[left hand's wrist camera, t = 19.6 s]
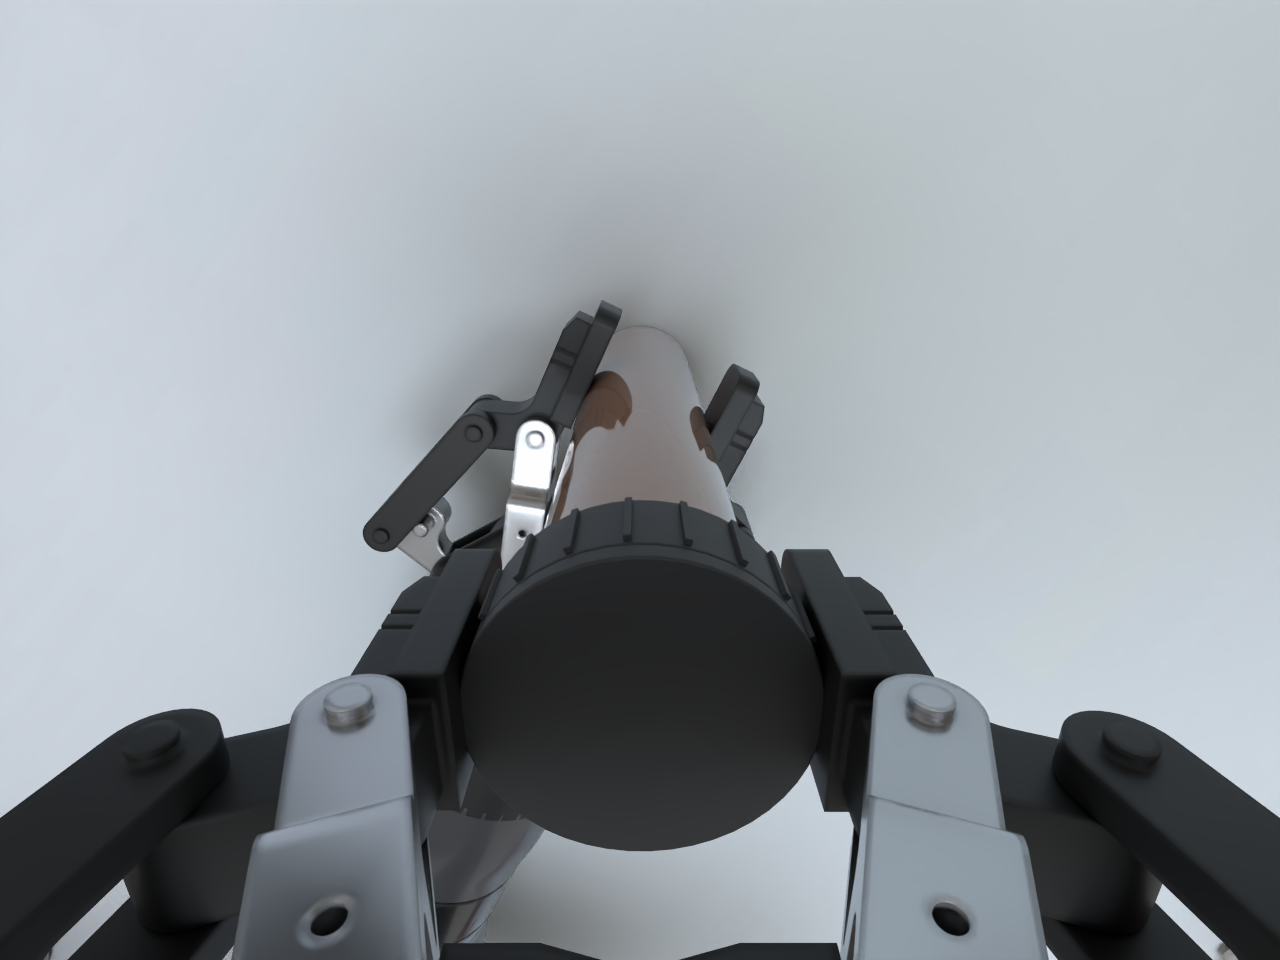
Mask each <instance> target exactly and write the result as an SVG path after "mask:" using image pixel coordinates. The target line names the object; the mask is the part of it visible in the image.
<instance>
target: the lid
mask: <svg viewBox="0 0 1280 960" xmlns="http://www.w3.org/2000/svg"><path fill="white" fill-rule="evenodd" d="M478 619H480V620H481V622H480V624H479V627H478V630H477V632H476V635H475V638H474V640H473V643H472V645H471V648H470V651H469V653H468V656H467V659H466V661H465V664H464V667H463V671H462V676H461V680H460V695H461V704H462V713H463V721H464V729H465V738H466V745H467V750H468V752H469V754H470V756H471V759H472V761H473V763H474V764H475V766H476V768H477V769H478V771H479V772H480V774H481V776H482V777H483V779H484V780H485V781H486V782H487V783H488V785H489V786H490V787H491V788H492V789H493V791H494V792H495V793H496V794H497V795H498V796H499V797H500V798H501V799H502V800H503V801H505V802H506V803H507V804H508V805H509V806H510V807H511V808H512V809H514V810H515V811H517V812H518V813H519V814H521V815H522V816H524V817H525V818H526V819H528V820H530V821H531V822H533V823H535V824H537V825H538V826H540V827H542V828H544V829H546V830H548V831H550V832H552V833H555V834H557V835H560V836H562V837H564V838H567V839H570V840H573V841H577V842H580V843H583V844H587V845H592V846H596V847H601V848H606V849H615V850H624V851H658V850H670V849H676V848H682V847H687V846H693V845H696V844H700V843H703V842H707V841H710V840H714V839H716V838H719V837H721V836H724V835H726V834H729V833H731V832H734V831H736V830H737V829H739V828H741V827H743V826H745V825H747V824H749V823H751V822H752V821H754V820H755V819H757V818H758V817H760V816H761V815H763V814H764V813H766V812H767V811H769V810H770V809H771V808H772V807H773V806H774V805H776V804H777V803H778V802H779V801H780V800H781V799H783V798H784V797H785V796H786V794H787V793H788V792H789V791H790V790H791V789H792V788H793V787H794V786H795V784H796V783H797V782H798V781H799V779H800V778H801V776H802V775H803V773H804V772H805V770H806V769H807V767H808V766H809V764H810V762H811V760H812V758H813V756H814V754H815V752H816V750H817V744H818V738H819V730H820V721H821V713H822V705H823V696H824V680H823V675H822V670H821V667H820V664H819V662H818V659H817V656H816V653H815V651H814V648H813V646H812V643H815V642H817V639H816V637H815V634H814V632H813V629H812V627H811V624H810V622H809V619H808V617H807V614H806V612H805V609H804V607H803V604H802V602H801V599H800V597H799V594H798V592H797V590H794V591H791V589H790V586H789V584H788V583H787V581H786V579H785V577H784V575H783V573H782V571H781V568H780V566H779V563H778V560H777V558H776V555H775V554H774V553H773V551H769V552H768V553H767V552H766V551H765V550H764V549H763V548H762V547H761V546H760V545H759V544H758V543H757V542H756V541H755V540H754V539H753V538H751V537H750V536H749V535H747V534H746V533H745V532H743V531H742V530H741V529H739V527H738V524H737V522H736V521H734V520H732V519H731V520H730V521H729V522H727V521H725V520H724V519H722V518H720V517H718V516H715V515H713V514H710V513H708V512H705V511H703V510H700V509H697V508H693V507H689V506H688V504H687V502H685V501H680V503H679V504H678V503H671V502H664V501H656V500H632V497H625V501H620V502H611V503H607V504H602V505H598V506H594V507H589V508H587V509H584V510H581V511H579V509H578V508H575V509H573V510H571V514H570V515H568V516H566V517H564V518H562V519H560V520H558V521H556V522H554V523H552V524H550V525H549V526H547V527H546V528H545V529H543V530H542V531H540V532H539V533H537V534H536V535H535V536H534V535H533V534H532V533H530V534H529V535H528V536H527V537H526V539H525V542H524V545H523V546H522V547H521V548H520V549H519V550H518V551H517V552H516V553H515V555H514V556H513V557H512V558H511V560H510V561H509V562H508V563H507V564H506V566H505V568H504V569H503V571H502V570H500V569H497V571H496V572H495V574H494V577H493V580H492V582H491V585H490V587H489V590H488V593H487V595H486V598H485V600H484V603H483V605H482V608H481V611H480V613H479V616H478Z"/></svg>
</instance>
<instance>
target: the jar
mask: <svg viewBox="0 0 1280 960" xmlns="http://www.w3.org/2000/svg"><path fill="white" fill-rule="evenodd" d="M625 497H632V500H656V501H664V502H671V503H678V504H679V503H680V501H685V502H687V504H688V506H689V507H693V508H697V509H700V510H703V511H705V512H708V513H710V514H713V515H715V516H718V517H720V518H722V519H724V520H725V521H727V522H729V521H730V520H731V519H732V520H734V521H736V518H735V514H734V511H733V508H732V505H731V501H730V498H729V495H728V491H727V488H726V485H725V482H724V478H723V475H722V472H721V469H720V465H719V462H718V459H717V455H716V452H715V449H714V446H713V442H712V439H711V436H710V432H709V429H708V426H707V423H706V419H705V416H704V413H703V409H702V406H701V403H700V400H699V396H698V393H697V390H696V386H695V383H694V380H693V377H692V373H691V370H690V367H689V363H688V360H687V358H686V355H685V353H684V351H683V349H682V348H681V347H680V345H679V344H678V343H677V342H676V341H675V340H674V339H673V338H672V337H671V336H670V335H668V334H666V333H665V332H663V331H661V330H658V329H655V328H652V327H646V326H636V327H629V328H625V329H623V330H620V331H618V332H616V333H614V334H613V336H612V338H611V340H610V343H609V345H608V347H607V349H606V351H605V354H604V356H603V358H602V360H601V363H600V365H599V367H598V369H597V371H596V374H595V376H594V378H593V380H592V382H591V385H590V387H589V389H588V391H587V394H586V396H585V398H584V400H583V401H582V403H581V406H580V408H579V411H578V414H577V417H576V421H575V424H574V428H573V431H572V434H571V438H570V441H569V445H568V448H567V451H566V455H565V458H564V462H563V465H562V469H561V472H560V475H559V479H558V482H557V486H556V489H555V492H554V496H553V499H552V503H551V506H550V509H549V513H548V516H547V520H546V523H545V526H544V529H545V528H546V527H547V526H549V525H550V524H552V523H554V522H556V521H558V520H560V519H562V518H564V517H566V516H568V515H570V514H571V510H573V509H575V508H578V509H579V511H581V510H584V509H587V508H589V507H594V506H598V505H602V504H607V503H611V502H620V501H625ZM736 522H737V521H736Z"/></svg>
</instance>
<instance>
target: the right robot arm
mask: <svg viewBox="0 0 1280 960" xmlns="http://www.w3.org/2000/svg"><path fill="white" fill-rule="evenodd" d="M621 313H622V309H619V308H617V307H615V306H613V305H611V304H609V303H607V302H605V301H603V300H602V301H601V303H600V306H599V308H598V310H597V313H596V315H595V317H592V316H590V315H588V314H586V313H583V312H581V311H579V312H578V313H577V314H576V315H575V316H574V317H573V318H572V319H571V320H570V321H569V322H568V323H567V324H566V326H565V328H564V329H563V331H562V334H561V336H560V338H559V341H558V343H557V345H556V348H555V350H554V352H553V355H552V357H551V360H550V362H549V364H548V367H547V369H546V371H545V374H544V376H543V378H542V381H541V383H540V385H539V388H538V390H537V393H536V395H535V396H533V397H532V398H531V399H529V400H526V401H522V402H513V401H502V400H501V399H500V398H499V397H497V396H494V395H490V394H488V395H482V396H480V397H478V398H477V399H476V400H475V401H474V402H473V403H472V405H471V406H470V407H469V408H468V409H467V410H466V411H465V412H464V414H463V415H462V416H461V417H460V418H459V419H458V420H457V421H456V423H455V424H454V425H453V426H452V427H451V428H450V429H449V430H448V432H447V433H446V434H445V435H444V436H443V437H442V438H441V439H440V441H439V442H438V443H437V444H436V445H435V446H434V447H433V448H432V450H431V451H430V452H429V453H428V454H427V455H426V456H425V457H424V459H423V460H422V461H421V462H420V463H419V464H418V465H417V466H416V468H415V469H414V470H413V471H412V472H411V473H410V474H409V475H408V477H407V478H406V479H405V480H404V481H403V482H402V483H401V484H400V486H399V487H398V488H397V489H396V490H395V491H394V492H393V493H392V495H391V496H390V497H389V498H388V499H387V500H386V502H385V503H384V504H383V505H382V506H381V507H380V508H379V510H378V511H377V512H376V513H375V514H374V515H373V517H372V518H371V519H370V520H369V521H368V522H367V523H366V525H365V526H364V529H363V537H364V540H365V542H366V543H367V544H368V545H369V546H370V547H371V548H372V549H374V550H377V551H380V552H388V551H391V550H393V549H395V548H396V547H397V548H399V549H400V550H401V551H403V552H404V553H405V554H407V555H408V556H409V557H411V558H412V559H413V560H415V561H416V562H417V563H419V564H420V565H421V566H423V567H424V568H425V569H426V570H428V571H429V572H430V576H440V575H441V573H442V572H443V570H444V568H445V566H446V564H447V562H448V560H449V559H450V557H451V555H452V553H453V551H454V550H455V549H499V551H500V554H501V559H502V569H504V568H505V566H506V564H507V563H508V562H509V561H510V560H511V558H512V557H513V556H514V555H515V553H516V552H517V551H518V550H519V549H520V548H521V547H522V546H523V545H524V542H525V539H526V537H527V536H528V535H529V534H530V533H532V534H533V535H534V536H535V535H536V534H537V533H539V532H540V531H542V530H543V529H544V526H545V523H546V520H547V516H548V513H549V509H550V506H551V503H552V499H553V496H554V488H555V481H556V474H557V460H558V453H559V446H560V439H561V434H562V431H563V429H564V427H567V428H569V429H571V427H572V425H573V422H574V420H575V418H576V416H577V413H578V411H579V408H580V406H581V403H582V401H583V400H584V398H585V396H586V394H587V391H588V389H589V387H590V385H591V382H592V380H593V378H594V376H595V374H596V371H597V369H598V367H599V365H600V363H601V360H602V358H603V356H604V354H605V351H606V349H607V347H608V345H609V343H610V340H611V338H612V336H613V334H614V332H615V329H616V327H617V325H618V322H619V320H620V317H621ZM759 385H760V383H759V381H758V379H757V378H756V377H755V375H754V374H753V373H752V372H750V371H748V370H746V369H744V368H742V367H740V366H738V365H735V364H732V365H731V366H730V368H729V369H728V371H727V372H726V374H725V376H724V378H723V380H722V382H721V384H720V385H719V387H718V389H717V391H716V393H715V395H714V397H713V399H712V401H711V403H710V405H709V406H708V408H707V410H706V412H705V414H704V416H705V419H706V423H707V426H708V429H709V432H710V436H711V439H712V442H713V446H714V449H715V452H716V455H717V459H718V462H719V465H720V469H721V472H722V475H723V478H724V482H725V485H726V488H727V486H728V484H729V482H730V480H731V478H732V477H733V475H734V473H735V471H736V470H737V468H738V466H739V464H740V462H741V461H742V459H743V457H744V455H745V453H746V451H747V449H748V448H749V446H750V444H751V443H752V441H753V438H754V437H755V435H756V434H757V432H758V430H759V428H760V426H761V425H762V422H763V414H764V405H763V403H762V402H761V400H760V399H759V397H758V396H757V392H758V389H759ZM487 448H489V449H501V450H512V451H514V460H513V469H512V477H511V485H510V490H509V494H508V498H507V504H506V512H505V515H504V516H502V517H500V518H498V519H497V520H495V521H493V522H491V523H489V524H487V525H485V526H483V527H481V528H479V529H478V530H476V531H474V532H472V533H470V534H468V535H466V536H464V537H462V538H460V539H458V540H457V541H455V542H453V543H452V542H451V541H450V540H449V539H448V537H447V535H446V531H445V527H446V524H447V522H448V520H449V519H450V517H451V507H450V505H449V503H448V502H447V500H445V498H444V497H443V496H444V495H445V494H446V493H447V492H448V490H449V489H450V488H451V487H452V486H453V485H454V484H455V483H456V482H457V481H458V480H459V479H460V477H461V476H462V475H463V474H464V473H465V472H466V471H467V470H468V469H469V468H470V467H471V465H472V464H473V463H474V462H475V461H476V460H477V459H478V458H479V457H480V456H481V455H482V453H483V452H484V451H485V450H486V449H487ZM730 501H731V500H730ZM731 505H732V508H733V511H734V514H735V518H736V521H737V524H738V527H739V529H741V530H742V531H743V532H745V533H746V534H747V535H749V536H750V537H751V538H753V539H754V536H753V533H752V531H751V528H750V525H749V522H748V519H747V517H746V514H745V511H744V509H743V508H742V507H741V506H740V505H739V504H737V503H733V502H732V501H731ZM754 540H755V539H754ZM544 830H545V829H544V828H542V827H540V826H538V825H537V824H535V823H533V822H531V821H530V820H528V819H526V818H525V817H524V816H522V815H521V814H519V813H518V812H517V811H515V810H514V809H512V808H511V807H510V806H509V805H508V804H507V803H506V802H505V801H503V800H502V799H501V798H500V797H499V796H498V795H497V794H496V793H495V792H494V791H493V789H492V788H491V787H490V786H489V785H488V783H487V782H486V781H485V780H484V779H483V777H482V776H481V774H480V772H479V771H478V769H477V768H476V766H475V764H474V766H473V769H472V772H471V776H470V779H469V783H468V786H467V789H466V793H465V796H464V799H463V803H462V806H461V809H460V810H436V811H435V814H434V817H433V820H432V823H431V826H430V829H429V832H428V841H429V848H430V858H431V868H432V878H433V889H434V899H435V910H436V920H437V931H438V941H439V952H440V953H441V949H442V946H443V943H484V938H485V932H486V926H487V921H488V917H489V916H490V914H491V912H492V911H493V909H494V907H495V905H496V903H497V902H498V900H499V898H500V896H501V894H502V893H503V891H504V889H505V887H506V885H507V884H508V882H509V880H510V878H511V877H512V875H513V873H514V871H515V869H516V868H517V866H518V865H519V863H520V862H521V861H522V860H523V858H524V857H525V856H526V855H527V854H528V853H529V851H530V850H531V849H532V847H533V846H534V845H535V843H536V842H537V841H538V839H539V838H540V837H541V835H542V833H543V832H544ZM48 959H49V952H48V954H47V955H46V957H45V958H44V960H48Z"/></svg>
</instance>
